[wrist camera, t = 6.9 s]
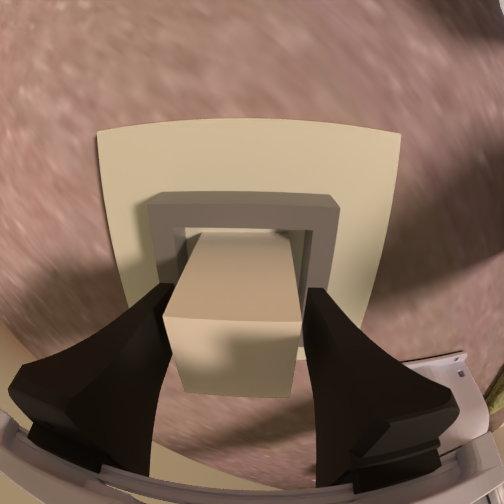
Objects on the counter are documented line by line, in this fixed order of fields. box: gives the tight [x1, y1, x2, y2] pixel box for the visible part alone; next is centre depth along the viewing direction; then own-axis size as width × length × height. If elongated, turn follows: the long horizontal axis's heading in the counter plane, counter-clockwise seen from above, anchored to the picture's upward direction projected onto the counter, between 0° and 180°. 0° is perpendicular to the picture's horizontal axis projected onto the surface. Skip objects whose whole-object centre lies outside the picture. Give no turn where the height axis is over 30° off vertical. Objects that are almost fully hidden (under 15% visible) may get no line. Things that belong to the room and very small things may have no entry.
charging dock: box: [97, 118, 401, 360], centre depth 13 cm, size 14×14×3 cm
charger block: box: [163, 232, 302, 398], centre depth 11 cm, size 4×4×6 cm
